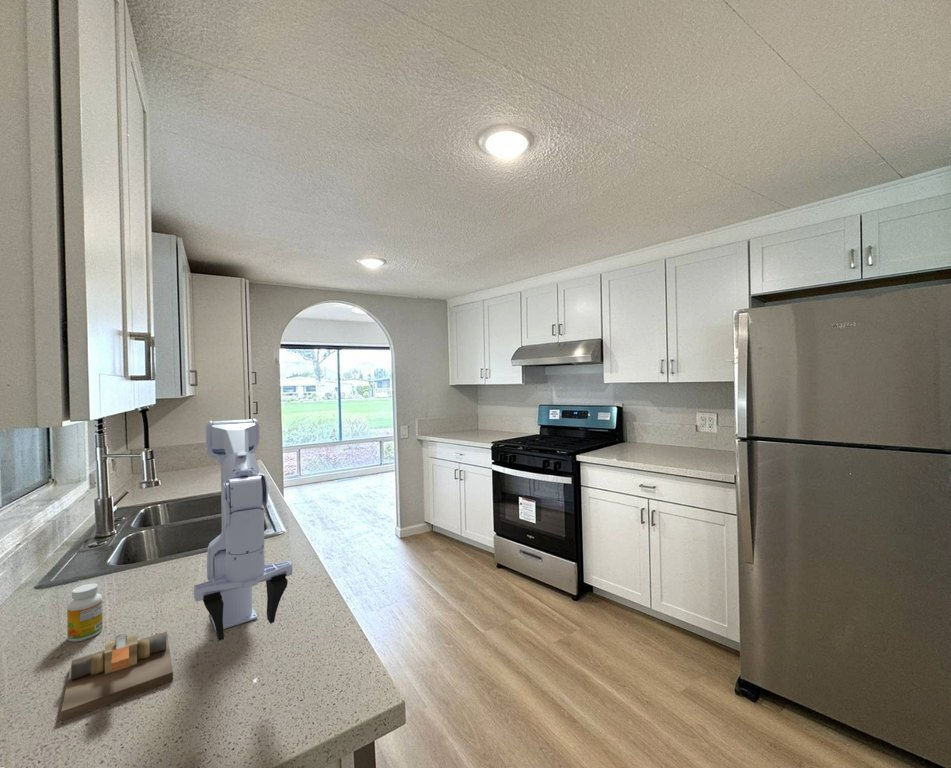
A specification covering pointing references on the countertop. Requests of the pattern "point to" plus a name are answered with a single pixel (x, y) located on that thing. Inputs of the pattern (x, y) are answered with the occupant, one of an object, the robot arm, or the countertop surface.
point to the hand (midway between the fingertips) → (246, 628)
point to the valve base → (116, 674)
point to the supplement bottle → (84, 613)
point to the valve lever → (120, 654)
